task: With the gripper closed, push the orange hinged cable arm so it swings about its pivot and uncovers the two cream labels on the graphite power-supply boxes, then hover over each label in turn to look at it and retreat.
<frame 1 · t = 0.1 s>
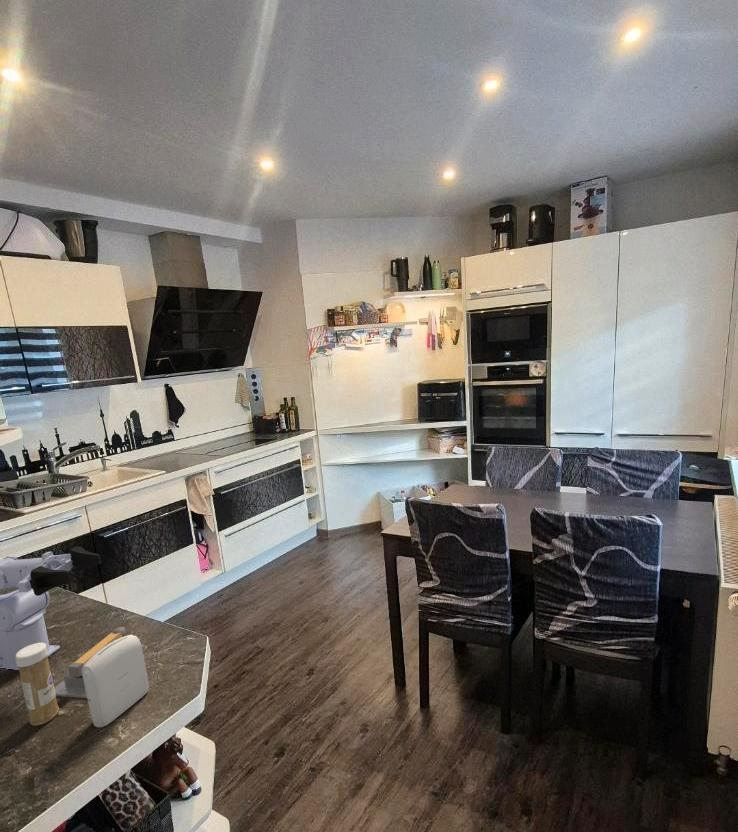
hand: (85, 567, 96), 22 cm above the countertop, tool horizontal, fingers open, 7 cm apart
cable arm: (100, 649, 96), point 4 cm above the countertop, hinge at 0.0°
photo printer: (122, 707, 84), on the countertop
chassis: (99, 669, 96), on the countertop
sprinkles bottle: (45, 718, 84), on the countertop
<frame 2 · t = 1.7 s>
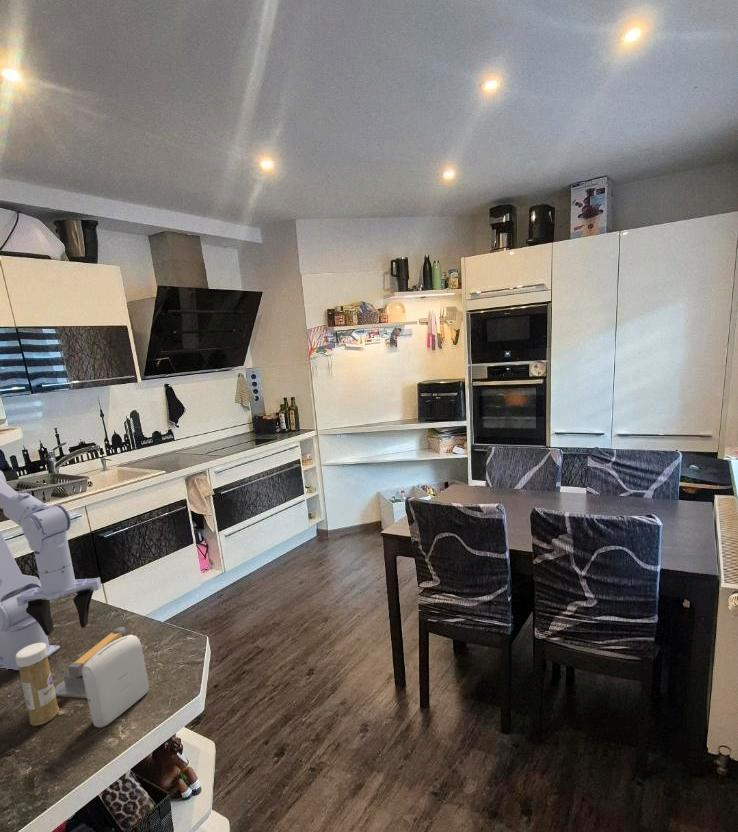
hand: (67, 628, 95), 10 cm above the countertop, tool pointing down, fingers open, 6 cm apart
nothing on the countertop moved.
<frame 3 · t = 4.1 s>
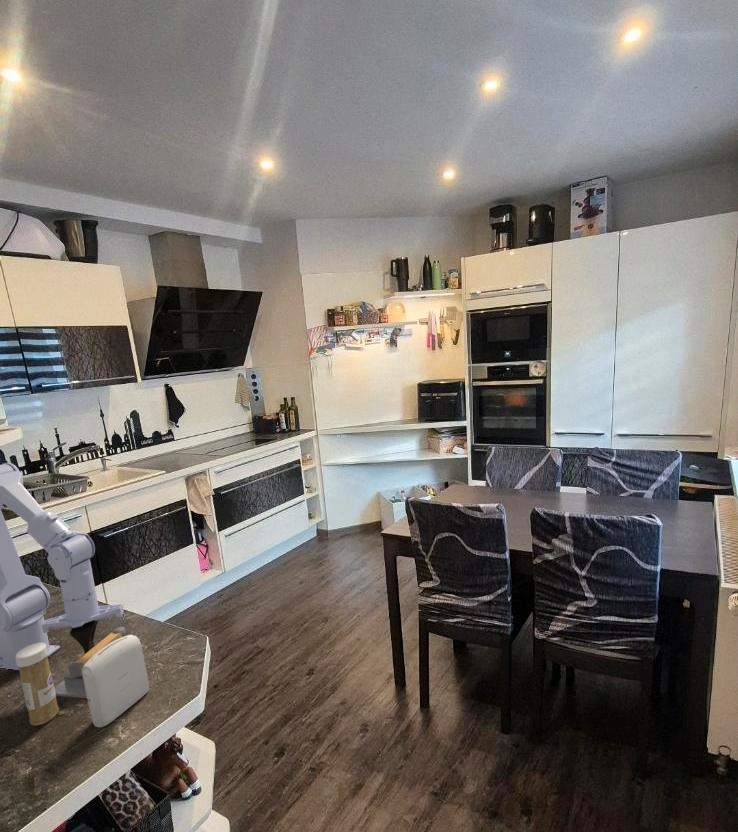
hand: (90, 654, 96), 3 cm above the countertop, tool pointing down, fingers closed, pressing on cable arm
cable arm: (100, 649, 96), point 4 cm above the countertop, hinge at 0.4°, touching gripper
everything else where it was.
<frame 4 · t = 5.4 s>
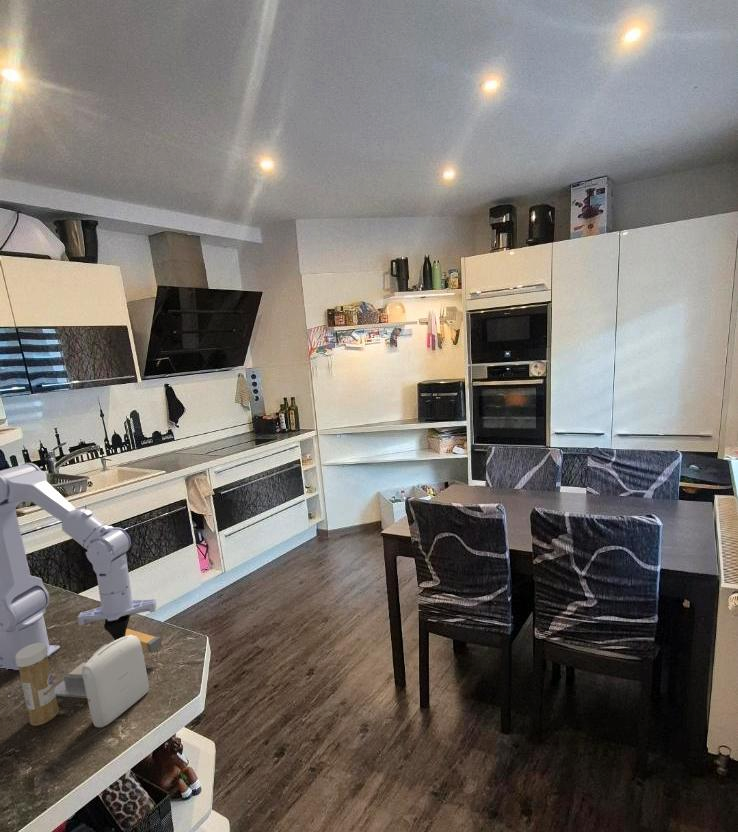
hand: (123, 647, 98), 3 cm above the countertop, tool pointing down, fingers closed, pressing on cable arm
cable arm: (135, 638, 99), point 4 cm above the countertop, hinge at 74.6°, touching gripper
everything else where it was.
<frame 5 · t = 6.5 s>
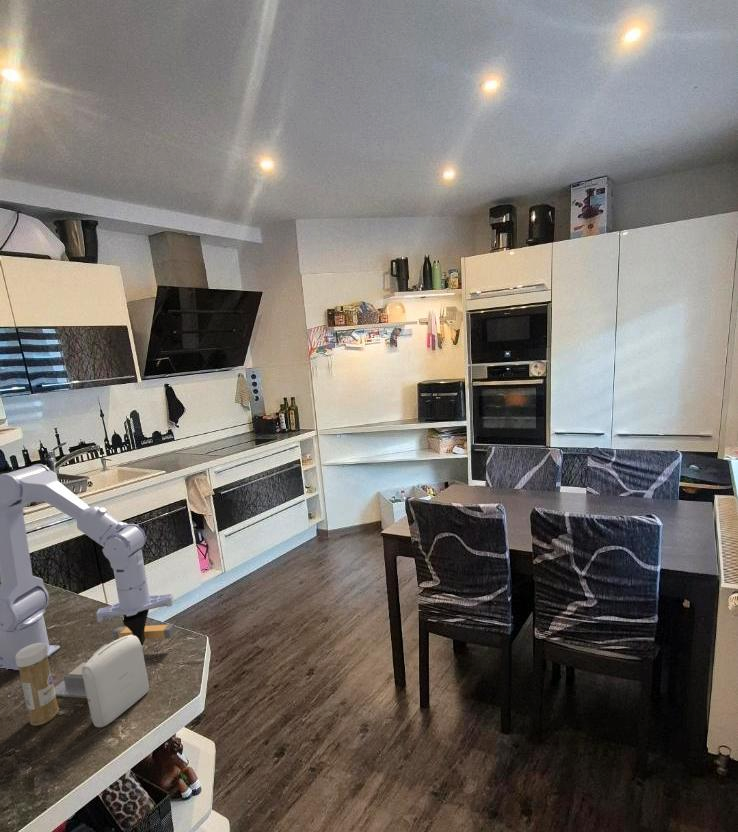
hand: (141, 643, 98), 3 cm above the countertop, tool pointing down, fingers closed, pressing on cable arm
cable arm: (143, 632, 101), point 4 cm above the countertop, hinge at 98.3°, touching gripper
everything else where it was.
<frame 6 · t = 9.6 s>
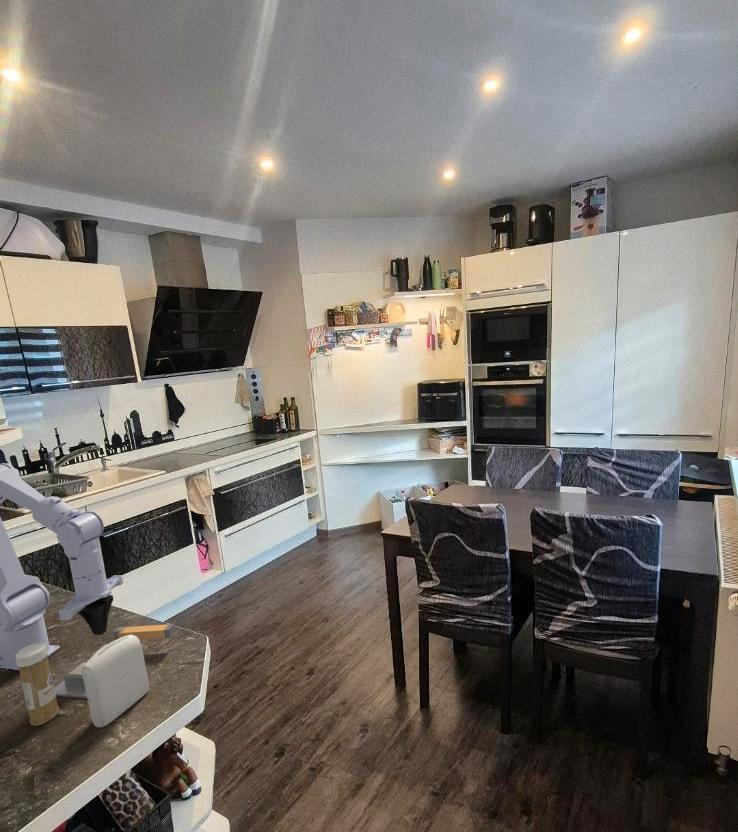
hand: (100, 632, 96), 7 cm above the countertop, tool pointing down, fingers closed
cable arm: (143, 632, 101), point 4 cm above the countertop, hinge at 98.5°
everything else where it was.
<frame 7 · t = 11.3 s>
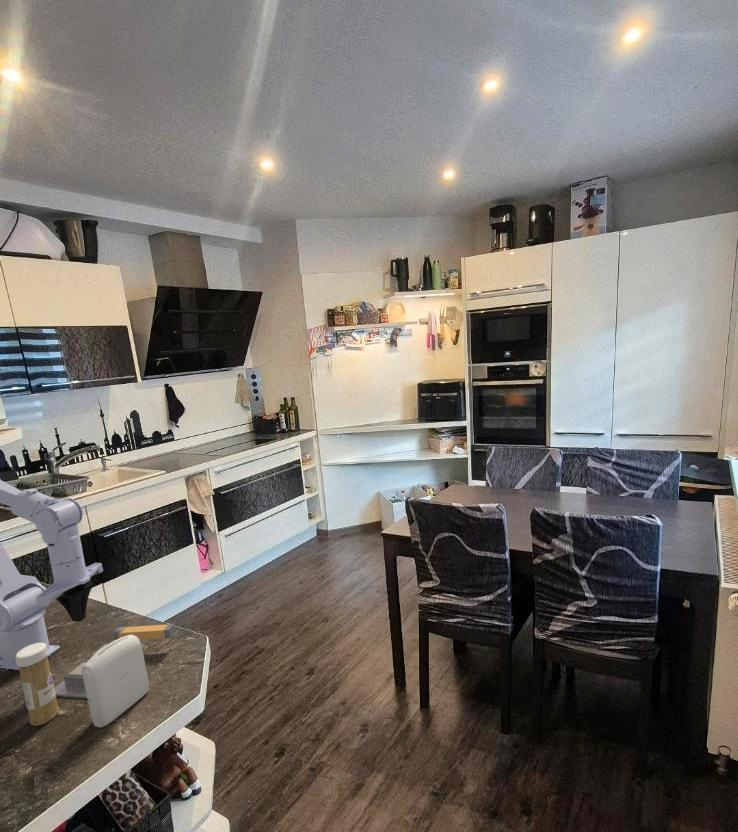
hand: (78, 619, 97), 10 cm above the countertop, tool pointing down, fingers closed
nothing on the countertop moved.
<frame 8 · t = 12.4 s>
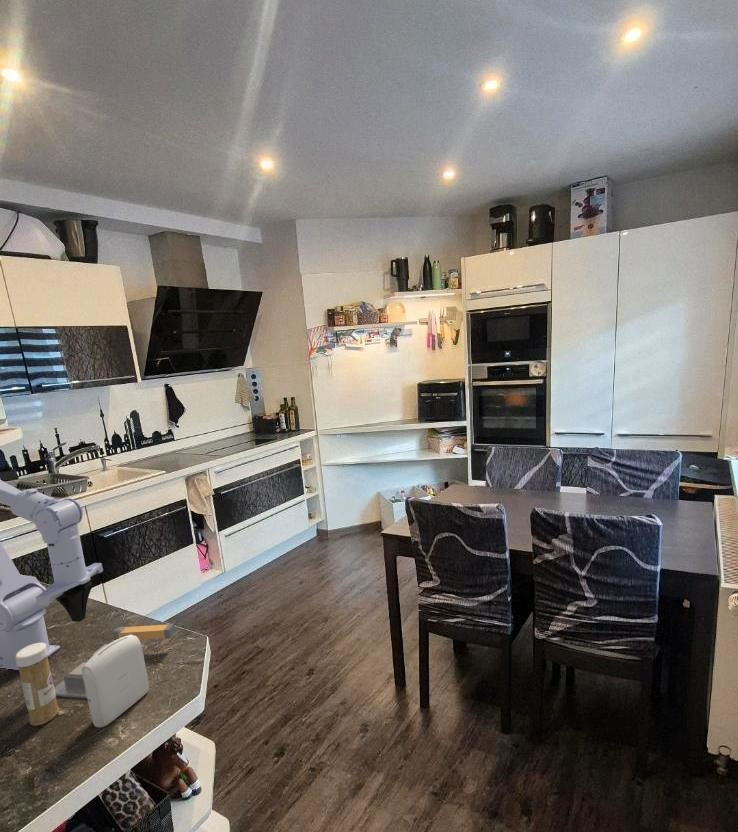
hand: (78, 619, 97), 10 cm above the countertop, tool pointing down, fingers closed
nothing on the countertop moved.
at the end: cable arm at +98° (first picture: +0°) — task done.
